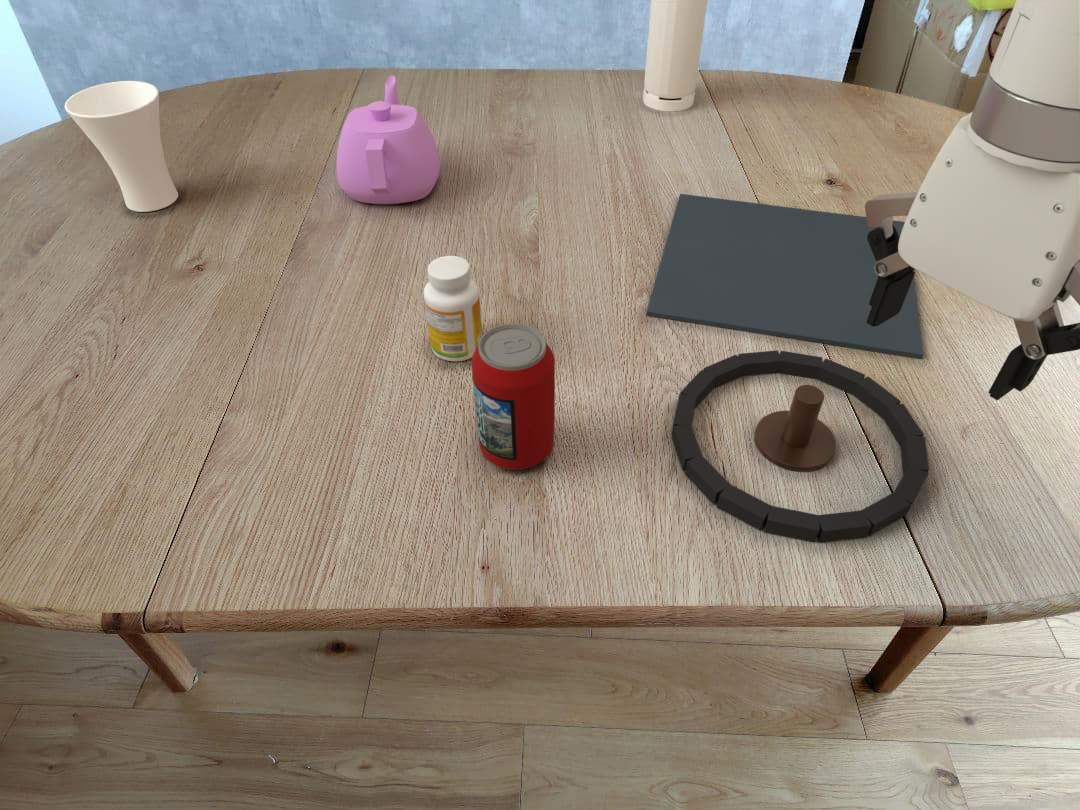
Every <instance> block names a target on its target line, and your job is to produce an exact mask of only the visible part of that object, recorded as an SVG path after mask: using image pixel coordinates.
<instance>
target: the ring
mask: <svg viewBox="0 0 1080 810" xmlns="http://www.w3.org/2000/svg"><path fill="white" fill-rule="evenodd" d="M768 374H784V375H791V376H796V377H803V378H807V379H808V378H809V379H815V380H818V381H821V382H823V383H825V384H827V385H829V386H831V387H834V388H837V389H839V390H841V391H843V392H845V393H848V394H850V395H853V396H854V397H855V398H856V399H858V400H859V401H860V402H862V403H863V404H864V405H865V406H867V407H868V408H869V409H870V410H871V411H873V412H874V413H875V414H877V415H878V416H879V417H880V418H882V419H883V421H884V422H885V423H884V424H886V426H887V427H888V429H889V430H890V432H891V434H892V436H893V437H894V438H895V440H896V442H897V443H898V445H899V446H900V456H901V457H900V458H901V466H902V467H901V468H902V477H901V479H900V481H899V482H898V484H897V486H896V488H895V489H894V491H893V492H892V493H890V494H888V495H886V496H885V497H883V498H881V499H879V500H877V501H876V502H874V503H872V504H870V505H868V506H867V507H865V508H863V509H861V510H852V511H844V512H843V511H842V512H833V513H825V514H815V513H810V512H805V511H800V510H795V509H790V508H785V507H781V506H776V505H771V504H769V503H767V502H765V501H763V500H761V499H759V498H758V497H756V496H754V495H752V494H750V493H748V492H746V491H744V490H742V489H741V488H739V487H736V486H735V485H732V484H731V483H730V482H729V481H728V480H727V479H726V478H725V477H724V476H723V475H721V473H720V472H719V471H718V470H717V468H715V467H714V466H713V465H712V464H711V462H709V461H708V459H706V457H704V455H703V453H702V450H701V447H700V445H699V442H698V440H697V437H696V434H695V432H694V429H693V426H692V424H693V420H694V414H695V409H697V408H698V406H699V405H700V404H701V403H702V402H703V401H704V400H705V398H707V396H708V395H710V393H711V392H712V391H713V390H714V389H717V388H718V387H720V386H723V385H725V384H727V383H730V382H732V381H734V380H737V379H739V378H741V377H746V376H757V375H758V376H759V375H768ZM901 402H902V401H901V400H900V399H899V398H898V397H896V396H895V395H894V394H892V393H891V392H890V391H888V390H887V389H886V388H884V387H883V386H882V385H880V384H879V383H878V382H876V381H875V380H874V379H873V378H871V376H866V375H865V373H863V372H860V371H858V370H855V369H853V368H850V367H848V366H846V365H843V364H842V363H839V362H836V361H834V360H831V359H828V358H824V360H823V357H822V356H816V355H811V354H805V353H798V352H793V351H786V350H780V351H779V350H777V349H776V350H767V351H753V352H744V353H743V352H742V353H738V355H737V354H734V355H731V356H729V357H726V358H724V359H722V360H719V361H717V362H714V363H713V364H710V365H707V366H705V367H704V368H703V369H701V370H699V372H698V373H697V374H696V375H695V376H694V377H693V378H692V379H691V381H689V383H687V384H686V386H685V387H684V388H683V389H682V390H681V391H680V394H679V395H678V399H677V404H676V409H675V414H674V417H673V425H672V430H671V440H672V443H673V446H674V449H675V451H676V455H677V457H678V460H679V463H680V466H681V469H682V471H683V472H684V474H685V476H686V477H688V479H689V480H690V481H691V482H692V483H693V484H694V486H696V487H697V489H698V490H699V491H701V493H702V494H703V495H704V496H705V497H706V498H707V499H708V500H709V501H710V502H711V504H712V505H716V508H718V509H720V510H721V511H723V512H725V513H727V514H728V515H730V516H732V517H734V518H736V519H738V520H740V521H741V522H743V523H746V524H747V525H749V526H751V527H753V528H755V529H756V530H758V531H762V529H763V528H764V529H763V532H764V533H768V534H773V535H777V536H781V537H785V538H786V537H787V538H790V539H791V538H792V539H796V540H801V541H806V542H811V543H816V540H817V541H818V543H826V542H836V541H844V540H853V539H861V538H867V536H868V537H871V536H873V535H874V534H877V533H878V532H880V531H882V530H883V529H885V528H887V527H888V526H890V525H892V524H894V523H896V522H898V521H899V520H901V519H902V518H905V516H906V515H907V514H908V513H909V511H910V509H911V508H912V505H913V503H914V502H915V500H916V498H917V496H918V495H919V492H920V491H921V489H922V487H923V485H924V484H925V481H926V479H927V477H928V475H929V471H930V467H929V459H928V458H929V457H928V450H927V441H926V437H925V436H924V435H925V434H924V432H923V431H922V429H921V428H920V427H919V425H918V423H917V422H916V420H915V419H914V417H913V416H912V415H911V413H910V411H909V410H908V408H907V407H906V406H905V404H904V403H901Z"/></svg>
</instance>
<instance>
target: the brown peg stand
mask: <svg viewBox="0 0 1080 810" xmlns="http://www.w3.org/2000/svg"><path fill="white" fill-rule="evenodd" d="M824 400H825V394H824V392H823V391H822V390H821V389H820V388H819V387H817V386H815V385H811V384H802V385H799V386H798V387H796V389H795V391H794V394H793V397H792V401H791V403H790V406H789V410H779V411H773V412H772V413H769V414H767V415H764V416H763V417H762V418H761V419H760V420H759V421H758V423H757V425H756V427H755V431H754V443H755V445H756V448H757V449H758V451H759V452H760V454H761V455H762V456H763V457H764V458H765V459H766V460H768V461H769V462H770V463H772V464H773V465H776V466H777V467H780V468H782V469H785V470H787V471H788V470H789V471H793V472H803V473H805V472H813V471H817V470H820V469H822V468H824V467H825V466H827V465H828V464H829V463H830V462H831V461H832V459H833V458H834V455H835V453H836V448H837V443H836V438H835V436H834V434H833V432H832V430H831V429H830V428H829V426H827V425H826V424H825V423H824V422H822V420H819V419H818V417H819V414H820V412H821V408H822V406H823V403H824Z"/></svg>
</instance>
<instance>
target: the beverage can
mask: <svg viewBox="0 0 1080 810" xmlns="http://www.w3.org/2000/svg"><path fill="white" fill-rule="evenodd" d="M482 335H483V336H482V337H481V339H480V341H479V345H478V347H477V349H476V350H475V352H474V354H473V356H472V357H471V360H470V361H471V375H472V385H473V397H474V399H473V400H474V409H475V420H476V428H477V436H478V446H479V450H480V452H481V454H482V456H483V457H484V458H485V459H486V460H487V461H488V462H490V463H491V464H492V465H495V466H497V467H499V468H502V469H507V470H523V469H529V468H533V467H534V466H537V465H539V464H540V463H542V462H543V461H544V460H546V459H547V458H548V457H549V455H550V454H551V453H552V451H553V448H554V445H555V420H556V419H555V415H556V414H555V406H556V401H555V399H556V391H555V390H556V383H555V382H556V377H555V375H556V372H555V371H556V370H555V368H556V367H555V365H556V363H555V362H556V360H555V354H554V353H553V350H552V348H550V346H549V344H548V343H547V341H546V339H545V337H544V335H543V333H542V332H540V331H539V330H538V329H536V328H535V327H533V326H529V325H527V324H523V323H522V324H521V323H505V324H501V325H497V326H494V327H492V328H490V329H489V330H487V331H486V332H484V334H482Z"/></svg>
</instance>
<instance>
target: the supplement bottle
mask: <svg viewBox="0 0 1080 810" xmlns="http://www.w3.org/2000/svg"><path fill="white" fill-rule="evenodd" d="M471 273H472V272H471V265H470V263H469V261H468V260H467V259H465V258H463V257H462V256H458V255H443V256H440V257H437V258H435V259H433V260H432V261H431V262H429V264H428V266H427V278H428V282H427V283H426V285H425V286H424V288H423V302H424V309H425V317H426V321H427V322H426V323H427V328H428V330H427V331H428V335H429V337H428V338H429V344H430V348H431V351H432V353H433V354H434V355H435V356H437V358H439V359H442V360H444V361H447V362H448V361H449V362H463V361H467V360H470V359H472V356H473V354H474V352H475V350H476V349H477V347H478V345H479V341H480V339H481V337H482V336H483V335H484V334H483V327H482V313H481V299H480V291H479V286H478V284H477V282H476V281H475V280H474V279H473V278H472V277H471V276H472V275H471Z"/></svg>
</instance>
